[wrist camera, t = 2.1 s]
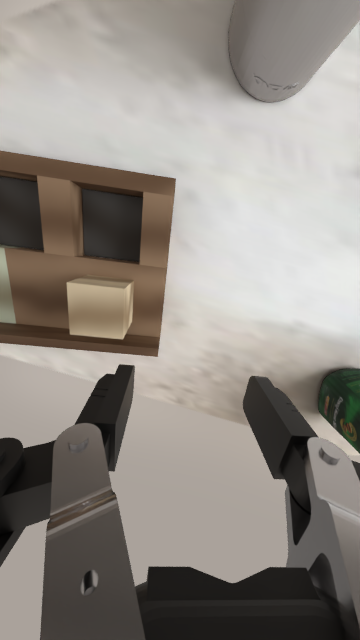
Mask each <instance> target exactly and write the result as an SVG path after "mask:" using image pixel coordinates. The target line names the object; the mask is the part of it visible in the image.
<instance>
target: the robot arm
mask: <svg viewBox="0 0 360 640" xmlns="http://www.w3.org/2000/svg"><path fill="white" fill-rule="evenodd" d="M359 21H360V0H235V4H234V8H233V12H232V16H231V21H230V28H229V53H230V60H231V64H232V67H233V70H234V73H235V75H236V77H237V79H238V81H239V82H240V84H241V85H242V87H243V88H244V89H245V90H246V91H247V92H248V93H249V94H250V95H252V96H253V97H255V98H256V99H259V100H262V101H265V102H277V101H282V100H285V99H287V98H289V97H291V96H293V95H295V94H296V93H297V92H298V91H299V90H301V89H302V88H303V87H304V86H305V85H306V83H307V82H308V81H309V80H310V79H311V78H312V76H313V75H314V74H315V73H316V72H317V70H318V69H319V68H320V67H321V66H322V65H323V63H324V62H325V61H326V60H327V59H328V57H329V56H330V55H331V54H332V53H333V51H334V50H335V49H336V48H337V47H338V46H339V45H340V43H341V42H342V41H343V40H344V39H345V37H346V36H347V35H348V34H349V33H350V31H351V30H352V29H353V28H354V27H355V26H356V24H357V23H358V22H359ZM134 372H135V366H133V365H121V364H120V365H119V366H118V368H117V371H116V373H115V374H106V375H105V376H103V377H102V378H101V379H100V380H99V381H98V382H97V384H96V386H95V388H94V390H93V392H92V393H91V396H90V397H89V399H88V401H87V403H86V405H85V406H84V408H83V410H82V412H81V414H80V416H79V418H78V419H77V421H76V423H75V425H73V426H71V427H69V428H68V429H66V430H65V431H63V432H62V433H61V434H60V435H59V436H58V438H57V439H56V440H55V441H52V442H49V443H45V444H41V445H36V446H32V447H27V448H23V445H22V443H21V442H20V441H19V440H18V439H15V438H2V439H0V567H1V565H2V564H3V562H4V560H5V559H6V557H7V556H8V554H9V552H10V551H11V549H12V548H13V546H14V545H15V543H16V541H17V540H18V538H19V537H20V535H21V533H22V532H23V530H24V529H25V527H26V526H29V525H32V524H34V523H38V522H40V521H43V520H46V519H49V518H50V521H49V522H48V524H47V531H46V544H45V562H44V580H43V597H42V616H41V633H40V634H41V635H40V640H360V463H358V462H354V461H351V460H350V458H349V457H348V456H347V454H346V453H345V452H344V451H343V450H342V449H340V448H339V447H338V446H336V445H335V444H333V443H332V442H330V441H328V440H326V439H323V438H319V437H318V436H317V435H316V433H315V432H314V431H313V429H312V428H311V427H310V425H309V424H308V423H307V422H306V420H305V419H304V418H303V416H302V415H301V414H300V412H298V410H297V409H296V407H295V406H294V405H292V402H291V401H290V399H289V398H288V397H287V396H286V395H285V394H284V393H283V392H282V391H280V390H279V389H278V388H275V387H274V386H273V384H272V383H271V382H270V380H269V379H268V378H267V377H259V376H251V377H250V379H249V382H248V386H247V389H246V393H245V396H244V400H243V409H244V412H245V415H246V417H247V419H248V422H249V424H250V426H251V428H252V431H253V433H254V435H255V437H256V440H257V442H258V444H259V446H260V449H261V451H262V453H263V456H264V458H265V460H266V463H267V465H268V467H269V469H270V472H271V474H272V476H273V478H274V479H285V480H286V482H287V484H288V485H287V488H286V490H285V499H286V500H285V501H286V518H287V533H288V559H287V564H286V567H269V568H267V569H265V570H263V571H261V572H259V573H257V574H254V575H252V576H250V577H248V578H246V579H244V580H241V581H239V582H237V583H228V582H226V581H223V580H221V579H218V578H216V577H213V576H211V575H208V574H206V573H203V572H201V571H198V570H196V569H193V568H191V567H149V568H148V575H147V582H144V583H142V584H140V585H138V586H136V587H135V585H134V580H133V575H132V570H131V565H130V561H129V555H128V550H127V545H126V540H125V536H124V531H123V526H122V521H121V516H120V511H119V506H118V501H117V498H116V494H115V493H114V492H113V491H112V488H111V482H110V477H109V471H115V467H116V463H117V459H118V455H119V451H120V447H121V443H122V439H123V435H124V431H125V427H126V423H127V419H128V415H129V411H130V408H131V404H132V398H133V389H134Z"/></svg>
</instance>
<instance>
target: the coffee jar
mask: <svg viewBox="0 0 360 640" xmlns="http://www.w3.org/2000/svg"><path fill="white" fill-rule="evenodd" d="M318 409H319V412H320V413H321V415H322V416H323V417H324V418H325V419H326V420H327V421H328V422H329V423H330V424H331V425H332V426H333V427H334V428H335V429H336V430H337V431H338V432H339V433H340V434H341V435H342V436H343V437H344V438H345V439H346V440H347V441H348V442H349V443H350V444H351V445H352V446H353V447H354V448H355V449H356V450H357V451H358V452H359V453H360V369H342V370H339V371H336V372H333V373H332V374H330V375H328V376H327V377H326V378H325V379H324V381H323V384H322V386H321V390H320V394H319V401H318Z"/></svg>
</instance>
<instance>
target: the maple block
mask: <svg viewBox="0 0 360 640" xmlns="http://www.w3.org/2000/svg"><path fill="white" fill-rule="evenodd" d="M133 293H134V280H129V279H120V278H112V277H103V276H95V275H86V276H83V277H81V278H78V279H75V280H72V281H69V282H67V297H68V313H69V329H70V334H71V335H81V336H92V337H103V338H113V339H123V338H124V336H125V334H126V332H127V330H128V329H129V327H130V325H131V323H132V314H133Z"/></svg>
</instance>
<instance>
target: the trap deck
mask: <svg viewBox="0 0 360 640" xmlns="http://www.w3.org/2000/svg"><path fill="white" fill-rule="evenodd" d="M0 176H1V177H0V244H2V245H0V343H8V344H19V345H31V346H42V347H53V348H65V349H76V350H87V351H99V352H110V353H121V354H133V355H144V356H155V357H158V349H159V341H160V332H161V322H162V312H163V303H164V293H165V283H166V273H167V263H168V253H169V243H170V233H171V223H172V213H173V203H174V193H175V181H176V179H174V178H168V177H161V176H155V175H149V174H143V173H136V172H130V171H124V170H118V169H111V168H105V167H99V166H93V165H86V164H80V163H74V162H68V161H61V160H55V159H49V158H43V157H36V156H30V155H24V154H18V153H11V152H5V151H0ZM6 177H8V178H6ZM12 178H14V179H12ZM19 179H21V180H19ZM25 180H28V181H25ZM32 181H34V182H32ZM85 189H87V190H85ZM92 190H94V191H92ZM99 191H101V192H99ZM105 192H107V193H105ZM112 193H114V194H112ZM119 194H121V195H119ZM125 195H127V196H125ZM132 196H134V197H132ZM139 197H141V198H139ZM6 245H10V246H6ZM14 246H18V247H14ZM22 247H26V248H22ZM30 248H34V249H30ZM38 249H42V250H38ZM86 255H90V256H86ZM94 256H98V257H94ZM102 257H106V258H102ZM110 258H114V259H110ZM118 259H122V260H118ZM126 260H130V261H126ZM134 261H138V262H134ZM86 275H95V276H103V277H112V278H120V279H129V280H134V293H133V314H132V323H131V325H130V327H129V329H128V330H127V332H126V334H125V336H124V338H123V339H113V338H103V337H92V336H81V335H71V334H70V329H69V313H68V297H67V282H69V281H72V280H75V279H78V278H81V277H83V276H86Z"/></svg>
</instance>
